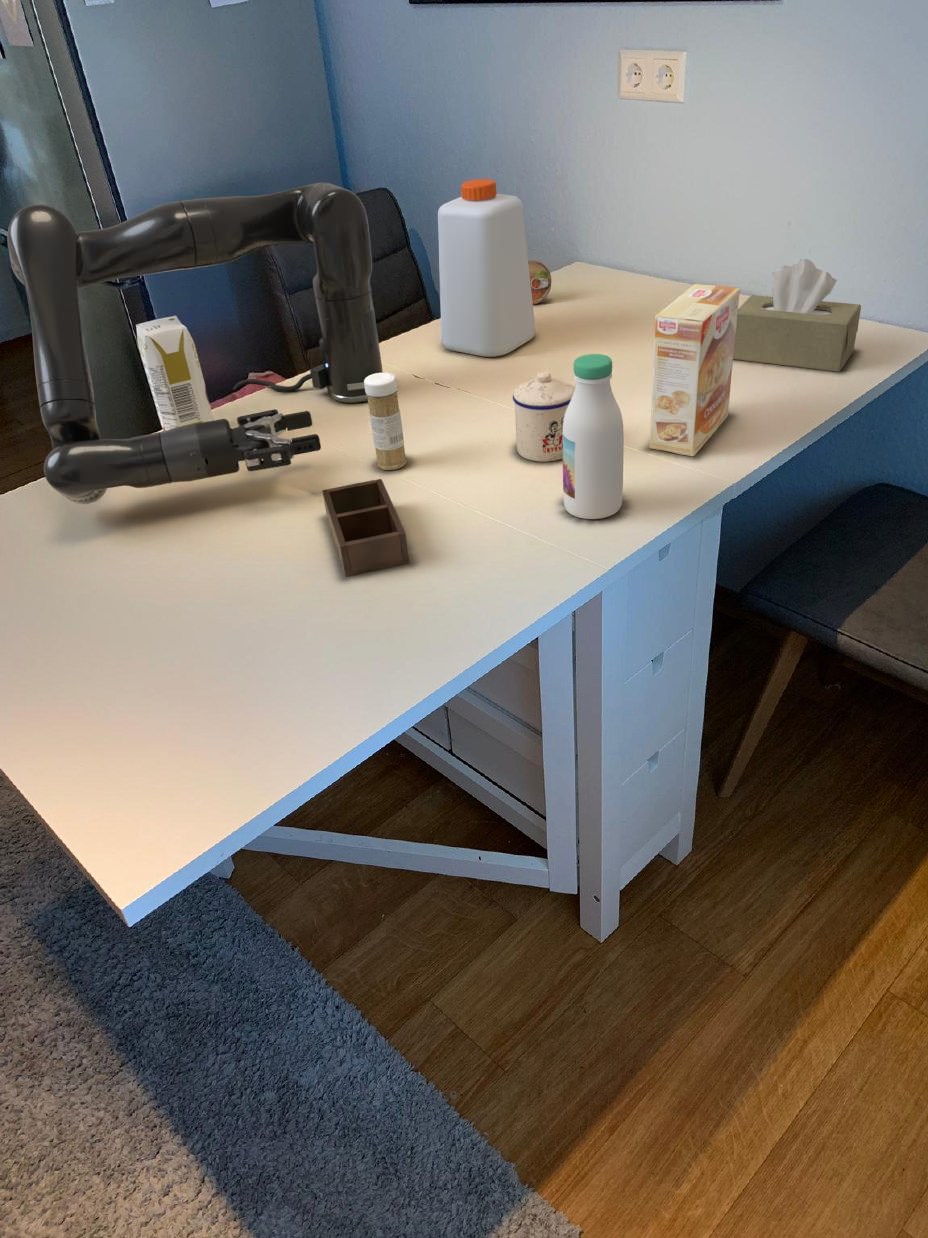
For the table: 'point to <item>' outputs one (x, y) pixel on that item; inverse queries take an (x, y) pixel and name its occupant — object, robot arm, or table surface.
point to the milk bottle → (593, 442)
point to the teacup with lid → (541, 417)
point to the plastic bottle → (484, 272)
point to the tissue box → (797, 322)
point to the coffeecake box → (693, 367)
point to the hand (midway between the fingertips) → (315, 429)
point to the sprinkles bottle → (385, 420)
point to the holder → (365, 527)
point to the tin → (539, 281)
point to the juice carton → (173, 373)
